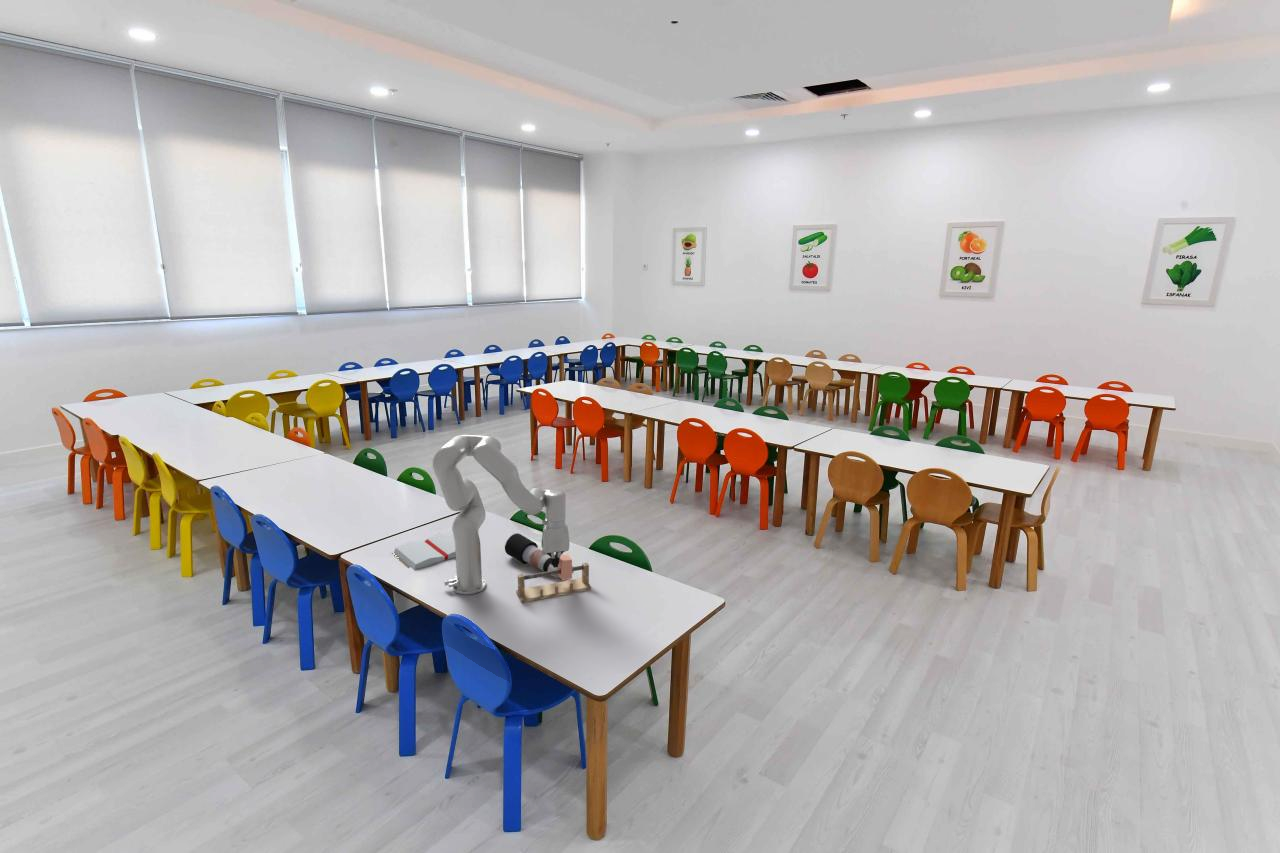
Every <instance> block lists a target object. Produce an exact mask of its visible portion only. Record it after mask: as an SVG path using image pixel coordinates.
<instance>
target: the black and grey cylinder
mask: <svg viewBox="0 0 1280 853" xmlns="http://www.w3.org/2000/svg"><path fill="white" fill-rule="evenodd" d="M541 551H542V549H540V548H539V547H538V544H537V543H536V542H534V541H533V540H531V539H530V538H528V537H526V536H525V535H522V534H520V533H519V532H517V533H513V534H512V535H510V536H509V537H508V539H507V540H506V542H505V544H504V552H505V553H506V555H508V556H510V557H512V558H513V559H515V560H516V561H517V562H520V563H521V564H523V565H528V564H529V565H531V566H532V567H534V568H537V569H538V570H540V571H542V572H548V571H554V570H558V567H555V568H554V567H553V565H551V557H550V556H549V555H545V554H542V553H541ZM551 576H552V577H554V578H556V579H558V578H560V576H559V575H558V574H555V575H551Z"/></svg>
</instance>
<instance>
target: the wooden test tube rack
mask: <svg viewBox="0 0 1280 853" xmlns="http://www.w3.org/2000/svg"><path fill="white" fill-rule="evenodd" d="M577 571H581V577H580V578H573V579H567V580H562V581H559V582H553V583H548V584H542V585H535V586H532V587H531V586H530V587H526V586H525V580H526V581H527V580H532V579H536V578H542V577H547V576H552V575H555V574H561V569H559V570H554V571H548V572H544V571H542V572H537V573H532V574H527V575H525V574H523V573H518V574H517V589H516V591H515V592H516V595H517V596H518V599H519V601H520V603H527V602H533V601H537V600H541V599H548V598H549V599H550V598H553V597H559V596H563V595H569V594H574V593H579V592H584V591H591V590H592V586H591V584H590V578H589V577H590V565H589V563H588V562H582V563H581V565H577V566H573V565H572V574H574V572H577Z"/></svg>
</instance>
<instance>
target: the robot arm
mask: <svg viewBox="0 0 1280 853" xmlns="http://www.w3.org/2000/svg"><path fill="white" fill-rule="evenodd" d="M501 450H502V444H501V442H500V441H499V440H498V439H497V438H495V437H493V436H488V435H487V436H486V435H473V434H472V435H471V434H459V435H456V436H454V437H452V438H451V439H450V440H448V441H447V443H445V444H444V445H442V446H441V448H439V449H438V450H437V451H436V453H435V454H434V456H433V459H432V468H433V471H434V473H435V476H436V478H437V481H438V484H439V486H440V490H441V492H442V495H443V498H444V500H445V503H446V505H447V507H448V508H449V509H450V510H452V511H453V512H459V513H458V514H457V516H456V517H455V518H454V520H453V522H452V530H451V531H452V534H453V535H454V541H455V553H456V557H455V569H456V571H455V575H454V578H451V579H446V580H443V582H444V586H448V588H453V592H455V593H456V594H459V595H474V594H477V593H480V592H482V591H483V590H484V589H486V586H487V581H486V580H485V579H483V578H482V577H483V576H482V554H481V553H482V550H481V540H480V539H481V538H480V534H479V531H480V530H479V529H480V528H481V526H483V523H484V522H485V520H486V517H487V516H486V509H485V506H484V504H483V501H482V500H483V499H482V498H481V495H480V493H479V490H478V488H477V486H476V484H475V483H474V482H473V481H472V480H470V479H468V478H462V474H461V471H460V470H459V468H458V466H457V465H458V464H459V463H460V462H462V461H463V460H464V459H465V458H466V457H472V458H473V459H474V460H475V461H476V462H477V463H478V464H479V465H480V466H481V467H482V468H483V469H485V471H486V472H488V473H489V474H490V475H491V476H492V477H493V478H494V479H495V480H496V481H498V482H499V483H500V485H501V487H502V489H503V490H504V492H505V493H506V495H507V497H508V498H509V500H510V501H511V502H512V503H513V504H514V505H515V506H516V507H517V508H518V509H520V510H521V511H522V512H523V513H525V514H526V515H530V516H536V515H538V514H540V513H541V511H542V510H543V508H545V517H544V520H541V525H543V527H542V528H543V529H542V534H541V553H542V554H545V555H548V556H550V557H551V565H553V567H554V568H555V567H558V564H559V558H560V556H561V555H564V554H563V553H566V552H568V551H569V550H570V533H569V532H570V531H569V526H568V524H567V523H566V507H567V506H566V503H567V502H566V501H567V500H566V499H567V498H566V497H567V496H566V493H565V492H564V490H560V489H548V488H543V487H539V486H537V487H533V488H531V489H529V490H528V488H527V487H526V486H525V485H524V484H523V482H522V481H521V479H520V478H521V477H520V474H519V472H518V471H519V470H518V468H517V466H516V465H515V464H514V463H513V462H512V461H511V460H510V459H509V458H508V457H507V456H505V454H503V453H502V452H501Z"/></svg>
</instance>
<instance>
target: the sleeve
mask: <svg viewBox="0 0 1280 853" xmlns="http://www.w3.org/2000/svg"><path fill="white" fill-rule="evenodd" d="M572 566H573V559H572V558H571V556H570V555H569V553H566V554H562V555H561V556H560V558H559V564H558V570H559V569H561V574H558V575H559V576H560V577H559V578H560V580H561V581H567V580H572V579H573V573H572Z"/></svg>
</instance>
